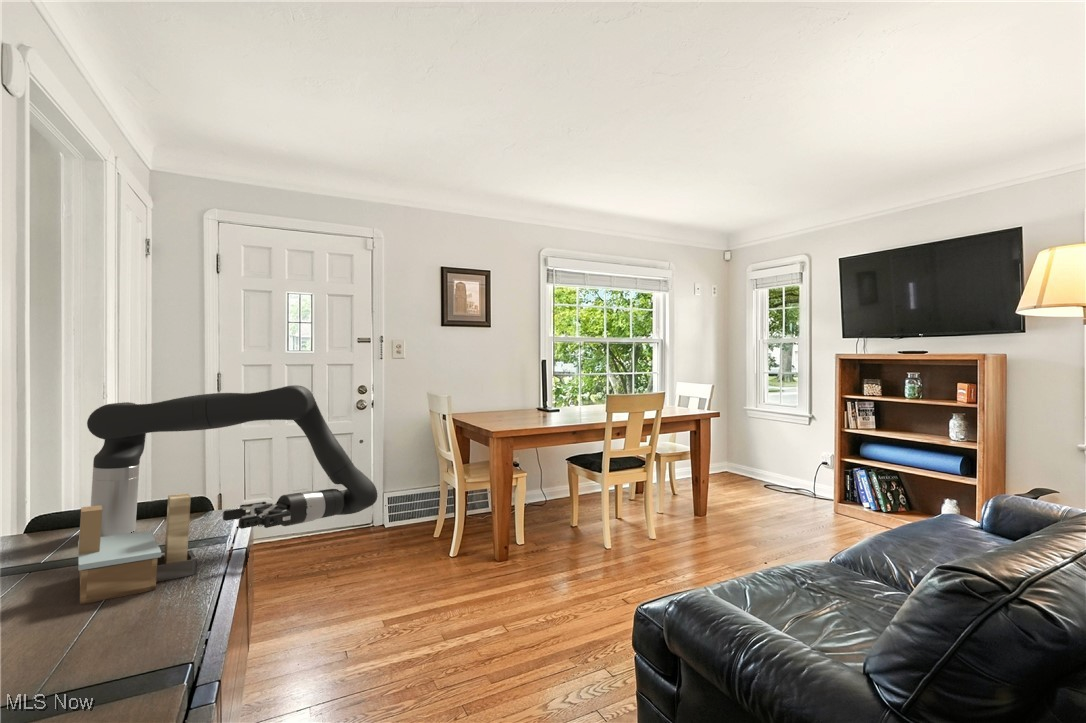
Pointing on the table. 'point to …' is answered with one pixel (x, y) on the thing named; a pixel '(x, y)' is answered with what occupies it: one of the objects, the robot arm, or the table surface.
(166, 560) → the wooden block
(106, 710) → the table surface
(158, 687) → the table surface
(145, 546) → the lid
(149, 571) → the wooden box
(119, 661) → the table surface
